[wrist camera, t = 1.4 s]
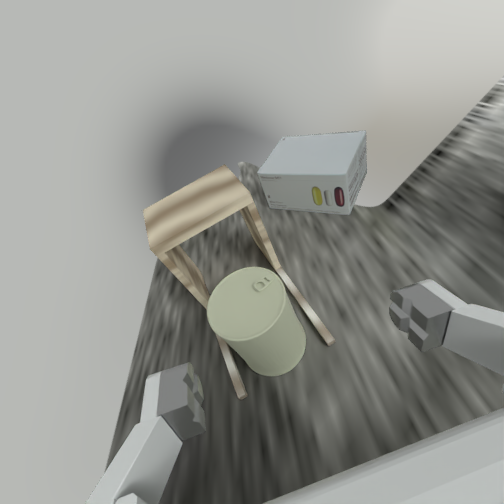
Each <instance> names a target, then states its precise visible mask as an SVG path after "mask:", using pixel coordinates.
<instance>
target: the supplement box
mask: <svg viewBox="0 0 504 504" xmlns="http://www.w3.org/2000/svg"><path fill="white" fill-rule="evenodd" d="M366 173H367V164H366V131H365V130H364V131H354V132H340V133H328V134H316V135H303V136H284V137H282V138H281V140H280V141H279V142H278V144H277V145H276V147H275V148H274V150H273V151H272V152H271V154H270V155H269V157H268V158H267V159H266V161H265V162H264V164H263V165H262V166H261V168H260V169H259V171H258V172H257V174H258V177H259V180H260V183H261V185H262V188H263V191H264V194H265V197H266V199H267V202H268V205H269V208H273V209H284V210H295V211H306V212H317V213H329V214H341V215H350V213H351V211H352V208H353V206H354V203H355V201H356V198H357V196H358V193H359V190H360V188H361V185H362V183H363V180H364V178H365V175H366Z"/></svg>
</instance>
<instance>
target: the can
mask: <svg viewBox="0 0 504 504" xmlns="http://www.w3.org/2000/svg"><path fill="white" fill-rule="evenodd" d="M207 318H208V322H209V324H210V326H211V328H212V329H213V331H214V332H215V333H216V334H217V335H218V336H220V337H221V338H222V339H224V340H225V341H226V342H227V343H228V344H229V345H230V346H231V347H232V348H233V349H234V350H235V351H236V352H237V353H238V354H239V355H240V356H241V357H242V358H243V359H244V360H245V361H246V363H247V364H248V366H249V367H250V368H251V369H252V370H253V371H255V372H256V373H258V374H261V375H264V376H279V375H282V374H285V373H287V372H289V371H290V370H292V369H293V368H294V367H295V366H296V365H297V364H298V363H299V361H300V360H301V358H302V356H303V354H304V351H305V347H306V335H305V331H304V329H303V326H302V325H301V323H300V322H299V320H298V318H297V316H296V314H295V312H294V310H293V307H292V305H291V303H290V300H289V298H288V296H287V293H286V291H285V287H284V284H283V282H282V280H281V279H280V278H279V277H278V276H277V275H276V274H275V273H274V272H272V271H271V270H269V269H266V268H262V267H246V268H242V269H239V270H237V271H235V272H233V273H231V274H229V275H228V276H226V277H225V278H224V279H223V280H222V281H221V282H220V283H219V284H218V285H217V286H216V287H215V289H214V290H213V292H212V294H211V296H210V298H209V301H208V305H207Z"/></svg>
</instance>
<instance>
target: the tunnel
mask: <svg viewBox="0 0 504 504" xmlns="http://www.w3.org/2000/svg"><path fill="white" fill-rule="evenodd" d="M239 210H240V212H241V214H242V216H243V218H244V220H245V223H246V225H247V227H248V229H249V231H250V233H251V235H252V237H253V239H254V241H255V242H256V244H257V245H258V247H259V248H260V250H261V251H262V252H263V254H264V255H265V257H266V258H267V259H268V261H269V262H270V264H271V265H272V267H273V268H274V269H275V271H276V272H277V274H278V275H279V277H280V278H281V279H282V281H283V282H284V284H285V285H286V286H287V288H288V289H289V291H290V292H291V294H292V295H293V296H294V298H295V299H296V301H297V302H298V304H299V305H300V306H301V308H302V309H303V311H304V312H305V313H306V315H307V316H308V318H309V319H310V321H311V322H312V323H313V325H314V326H315V328H316V329H317V331H318V332H319V333H320V335H321V336H322V338H323V339H324V340H325V342H326V343H327V345H328V346H330V345H332V344H333V343H335V340H334V338H333V337H332V335H331V334H330V333H329V331H328V330H327V328H326V327H325V326H324V324H323V323H322V322H321V320H320V319H319V318H318V316H317V315H316V314H315V312H314V311H313V310H312V308H311V307H310V306H309V304H308V303H307V301H306V300H305V299H304V297H303V296H302V295H301V293H300V292H299V291H298V289H297V288H296V287H295V285H294V284H293V283H292V281H291V280H290V278H289V277H288V276H287V274H286V273H285V272H284V270H283V269H282V268H281V266H280V263H279V261H278V259H277V256H276V254H275V251H274V249H273V247H272V244H271V242H270V239H269V237H268V235H267V232H266V230H265V227H264V225H263V223H262V220H261V218H260V216H259V213H258V211H257V208H256V206H255V204H254V201H253V199H252V196H251V194H250V192H249V191H248V190H247V189H246V188H245V186H244V185H243V184H242V183H241V182H240V181H239V180H238V179H237V178H236V176H235V175H234V174H233V173H232V172H231V171H230V170H229V169H228V167H227V166H226V165H223V166H221V167H219V168H218V169H216V170H214V171H212V172H210V173H209V174H207V175H205V176H204V177H201V178H200V179H198V180H196V181H194V182H192V183H191V184H189V185H187V186H185V187H183V188H182V189H180V190H178V191H176V192H174V193H173V194H171V195H169V196H167V197H165V198H164V199H162V200H160V201H158V202H156V203H155V204H153V205H151V206H149V207H148V208H146V209H144V210H143V213H144V219H145V224H146V230H147V235H148V241H149V246H150V250H151V251H152V252H153V253H154V254H155V255H156V256H157V257H158V258H159V259H160V260H161V261H162V262H163V264H164V265H165V266H166V267H167V268H168V269H169V270H170V271H171V272H172V273H173V274H174V275H175V276H176V277H177V278H178V280H179V281H180V282H181V283H182V284H183V285H184V286H185V287H186V288H187V289H188V290H189V291H190V292H191V293H192V295H193V296H194V297H195V298H196V299H197V300H198V301H199V302H200V303H201V304H202V305H203V306H204V307H205V308H206V309H207V305H208V301H209V298H210V295H209V293H208V290H207V287H206V285H205V282H204V279H203V277H202V274H201V272H200V270H199V269H198V268H197V266H196V265H195V264H194V263H193V261H192V260H191V259H190V258H189V256H188V255H187V254H186V253H185V251H184V250H183V249H182V248H181V246H180V245H179V244H181V243H182V242H184V241H186V240H188V239H189V238H191V237H193V236H195V235H196V234H198V233H200V232H202V231H203V230H205V229H207V228H209V227H210V226H212V225H214V224H216V223H217V222H219V221H221V220H223V219H224V218H226V217H228V216H230V215H231V214H233V213H235V212H237V211H239ZM215 334H216V333H215ZM216 337H217V339H218V342H219V345H220V348H221V351H222V354H223V357H224V359H225V362H226V365H227V368H228V371H229V374H230V376H231V379H232V382H233V385H234V388H235V391H236V394H237V396H238V398H239V399H240V400H242V399H244V398H245V397H247V396H248V395H247V392H246V390H245V387H244V384H243V382H242V379H241V376H240V374H239V371H238V369H237V366H236V363H235V361H234V358H233V355H232V353H231V350H230V348H229V345H228V343H227V342H226V341H225V340H224V339H222V338H221V337H220V336H218V335H217V334H216Z"/></svg>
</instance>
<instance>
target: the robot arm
mask: <svg viewBox="0 0 504 504" xmlns="http://www.w3.org/2000/svg"><path fill="white" fill-rule="evenodd" d="M390 299H391V300H392V301H393V303H392V304H391V306H390V307H389V314H390V317H391V319H392V321H393V323H394V324H395V325H396V327H397V328H398V329H399V330H401V331H404V332H406V333H407V334H408V339H409V340H410V341H411V342H412V343H413V344H414V345H415V346H416V347H417V348H418V349H419V350H420V351H421V352H424V351H427V350H430V349H433V348H436V347H439V346H442V345H443V347H445V348H447V349H449V350H451V351H453V352H455V353H457V354H459V355H461V356H463V357H465V358H467V359H469V360H472V361H474V362H476V363H478V364H480V365H482V366H484V367H486V368H488V369H490V370H492V371H494V372H496V373H499V374H501V375H503V376H504V312H501V311H497V310H493V309H490V308H486V307H482V306H479V305H475V304H469V305H468V304H466V303H465V302H463V301H462V300H460V299H459V298H458V297H456V296H455V295H453V294H452V293H450V292H449V291H447V290H446V289H445V288H443V287H442V286H440V285H439V284H437V283H436V282H435V281H433V280H430V279H427V280H424V281H421V282H418V283H416V284H412V285H409V286H406V287H403V288H401V289H398V290H395V291H393V292H392V293H391V295H390ZM502 392H503V393H504V384H503V386H502ZM203 401H204V397H203V389H202V385H201V382H200V379H199V377H198V375H197V374H194V373H193V366H192V365H191V363H190V362H189V363H185V364H182V365H179V366H176V367H173V368H169V369H166V370H163V371H160V372H157V373H154V374H151V375H148V377H147V379H146V383H145V390H144V397H143V404H142V411H141V418H140V423H138V424H136V425H135V426H134V428H133V429H132V431H131V432H130V434H129V436H128V437H127V439H126V440H125V442H124V443H123V445H122V447H121V448H120V450H119V451H118V453H117V454H116V456H115V458H114V459H113V461H112V462H111V464H110V465H109V467H108V468H107V470H106V472H105V473H104V475H103V476H102V478H101V480H100V481H99V483H98V484H97V486H96V487H95V489H94V490H93V492H92V494H91V495H90V497H89V498H88V500H87V501H86V503H85V504H159V501H160V499H161V496H162V494H163V491H164V489H165V486H166V484H167V481H168V479H169V476H170V474H171V471H172V469H173V466H174V464H175V461H176V459H177V456H178V454H179V451H180V449H181V446H182V444H183V443H182V441H185V440H187V439H190V438H192V437H195V436H197V435H200V434H202V433H205V432H206V428H205V412H204V411H203V409H202V407H201V405H202V403H203ZM263 504H504V408H501V409H498V410H496V411H493V412H491V413H488V414H486V415H483V416H481V417H478V418H476V419H473V420H471V421H468V422H466V423H463V424H461V425H458V426H456V427H453V428H451V429H448V430H446V431H443V432H441V433H438V434H436V435H433V436H431V437H428V438H426V439H423V440H421V441H418V442H416V443H413V444H411V445H408V446H406V447H403V448H401V449H398V450H396V451H393V452H391V453H388V454H386V455H383V456H381V457H378V458H376V459H373V460H371V461H368V462H366V463H363V464H361V465H358V466H356V467H353V468H350V469H348V470H345V471H343V472H340V473H338V474H335V475H333V476H330V477H328V478H325V479H323V480H320V481H318V482H315V483H313V484H310V485H308V486H305V487H303V488H300V489H298V490H295V491H293V492H290V493H288V494H285V495H283V496H280V497H278V498H275V499H273V500H270V501H268V502H265V503H263Z"/></svg>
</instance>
